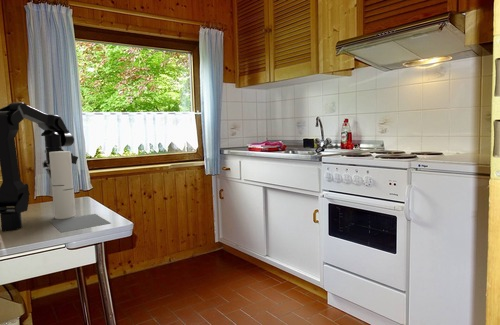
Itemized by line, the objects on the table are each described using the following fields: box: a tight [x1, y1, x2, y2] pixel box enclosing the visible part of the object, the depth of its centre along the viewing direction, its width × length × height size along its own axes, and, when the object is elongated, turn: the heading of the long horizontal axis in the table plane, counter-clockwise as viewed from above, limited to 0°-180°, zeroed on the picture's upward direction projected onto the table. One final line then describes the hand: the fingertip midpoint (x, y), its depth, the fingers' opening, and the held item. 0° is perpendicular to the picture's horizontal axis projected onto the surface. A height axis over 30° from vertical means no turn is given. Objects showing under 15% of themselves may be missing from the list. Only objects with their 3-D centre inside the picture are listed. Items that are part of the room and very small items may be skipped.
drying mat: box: [49, 213, 112, 233], centre depth 125 cm, size 20×16×1 cm
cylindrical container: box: [49, 150, 77, 220], centre depth 134 cm, size 7×7×25 cm
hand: (56, 185), depth 144 cm, fingers closed
